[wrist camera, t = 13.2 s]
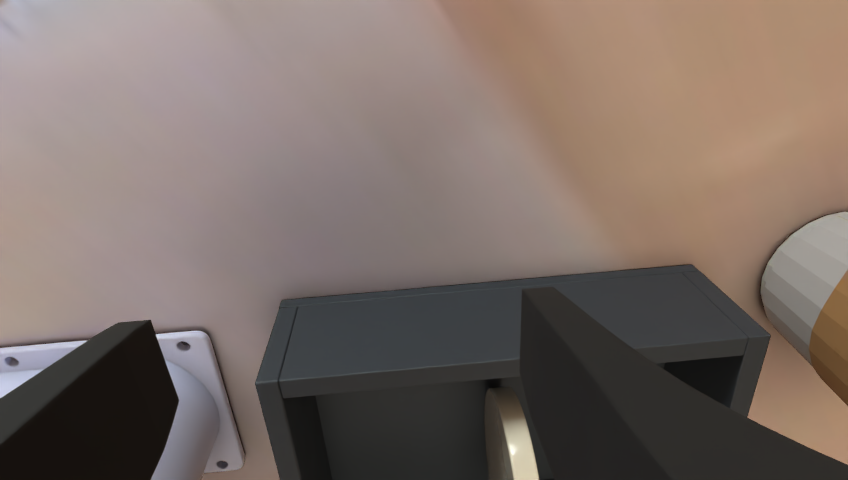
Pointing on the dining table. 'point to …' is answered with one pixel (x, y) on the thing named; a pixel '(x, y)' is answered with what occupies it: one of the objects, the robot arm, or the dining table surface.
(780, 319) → the coffee cup
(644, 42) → the dining table surface
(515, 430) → the saucer
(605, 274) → the dark grey open box
